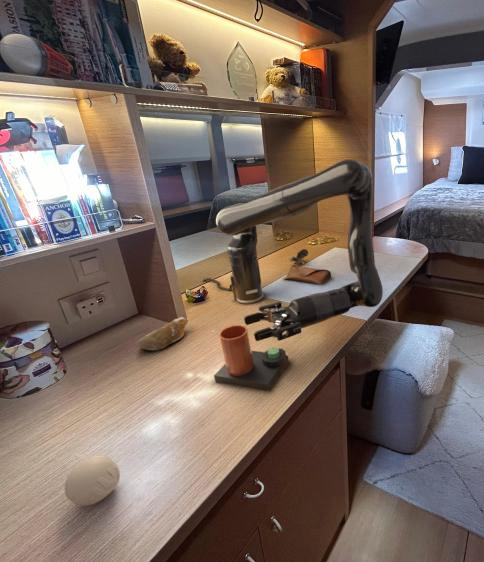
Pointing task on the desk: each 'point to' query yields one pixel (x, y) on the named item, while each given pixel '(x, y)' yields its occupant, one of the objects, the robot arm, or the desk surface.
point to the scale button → (273, 353)
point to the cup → (236, 350)
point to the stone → (163, 335)
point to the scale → (257, 372)
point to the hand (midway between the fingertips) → (249, 328)
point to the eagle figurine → (299, 257)
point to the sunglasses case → (308, 275)
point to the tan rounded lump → (91, 480)
